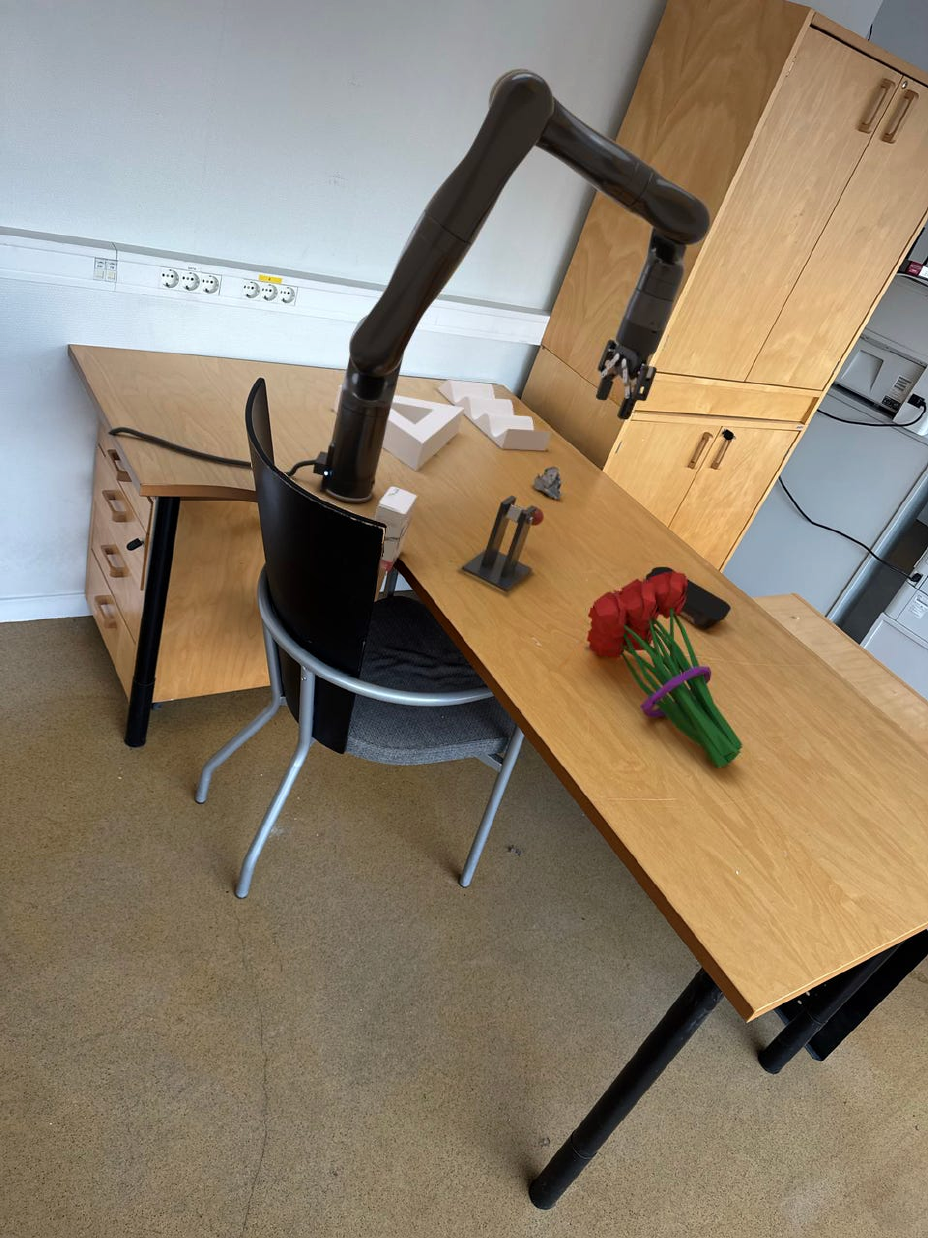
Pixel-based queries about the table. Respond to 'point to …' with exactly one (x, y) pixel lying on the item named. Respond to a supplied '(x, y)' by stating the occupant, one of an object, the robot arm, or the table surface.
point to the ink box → (394, 522)
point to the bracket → (496, 564)
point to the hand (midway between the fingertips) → (611, 408)
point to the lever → (516, 512)
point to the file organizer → (495, 416)
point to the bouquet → (663, 659)
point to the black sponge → (698, 603)
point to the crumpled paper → (549, 482)
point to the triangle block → (417, 428)
